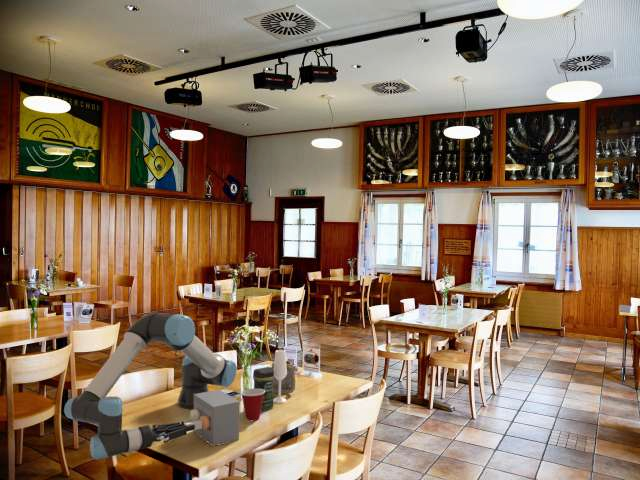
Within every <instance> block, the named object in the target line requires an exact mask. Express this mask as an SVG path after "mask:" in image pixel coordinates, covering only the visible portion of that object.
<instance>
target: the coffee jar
mask: <svg viewBox="0 0 640 480" xmlns="http://www.w3.org/2000/svg"><path fill="white" fill-rule="evenodd" d="M252 379H253V389H263V390H265V393H264V397H263V402H262V408H261V412H262V411H266V410H270V409H273V407H274V402H273V399H274V393H273V379H274V370H273V368H272V366H271V367H270V366H266V367H265V366H264V367H260V368H255V369H254V370H253V374H252Z"/></svg>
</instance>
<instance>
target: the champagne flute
mask: <svg viewBox="0 0 640 480" xmlns="http://www.w3.org/2000/svg"><path fill="white" fill-rule="evenodd" d="M274 355H275V356H274V361H273V362H274V377H275V378H276V379H277V380H279V392H278V393H277V394H278V395H277V397H275V398H273V403H278V404H279V403H280V404H283V403H285V402H286V401H287V399H286V398H284V397H283V396H282V393H281V380H283V379H284V378H285V377H286V375H287V367H286V361H287V356H286V355H287V354H286V350H285V349H276V350H275V353H274Z"/></svg>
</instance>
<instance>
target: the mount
mask: <svg viewBox="0 0 640 480" xmlns="http://www.w3.org/2000/svg"><path fill="white" fill-rule="evenodd" d="M240 403H241V402H240V400H238V399H237V398H234V397H233V396H231V395H229V394H227V393H225V392H224V391H223V390H220V389H214V390H210V391H208V392H203V393H198V394H194V409H193V410H195V409H198V410H199V411H201V416H205V415H208V416H209V417H210V418H211V426H210V429H208V430H204V431H202V430H201V429H197V430H193V431H192V432H194V433H195V434H196V433H197V434H198V435H197V434H196V435H197V436H198V437H200V436H201V437H202V439H203V440H204V439H205V440H206V441H208V442H209V443H210V444H212V445H213V446H212V447H215V446H214V445H217V446H219V445H218V444H221V445H224V444H223V443H225V444H228V443H231V441H232V442H235V441H238V440H240ZM201 437H200V438H201ZM205 440H204V441H205ZM206 441H205V442H206ZM208 442H207V443H208ZM227 442H228V443H227ZM209 443H208V444H209ZM210 444H209V445H210Z"/></svg>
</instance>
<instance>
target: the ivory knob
mask: <svg viewBox="0 0 640 480" xmlns="http://www.w3.org/2000/svg"><path fill="white" fill-rule="evenodd" d="M200 417H201V411H199V410H198V409H195V410H194V409H190V412H189V420H190V422H194V421H198V420H199V418H200Z"/></svg>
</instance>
